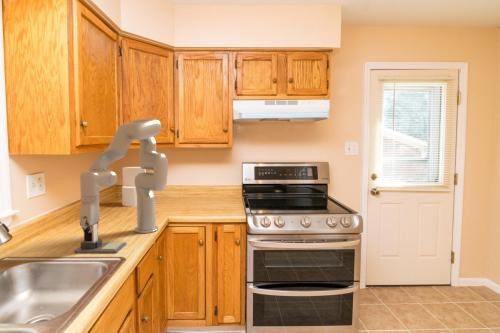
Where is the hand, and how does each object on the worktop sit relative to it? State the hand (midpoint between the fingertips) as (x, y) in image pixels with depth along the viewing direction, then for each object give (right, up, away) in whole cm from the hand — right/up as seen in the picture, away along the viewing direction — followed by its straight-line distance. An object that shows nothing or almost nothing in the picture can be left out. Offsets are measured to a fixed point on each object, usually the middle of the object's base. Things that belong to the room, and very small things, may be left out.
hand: (91, 238), depth 148 cm
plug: (0, -3, 0) cm, 3 cm away
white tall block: (-17, +3, +105) cm, 106 cm away
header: (+4, -4, 0) cm, 6 cm away
